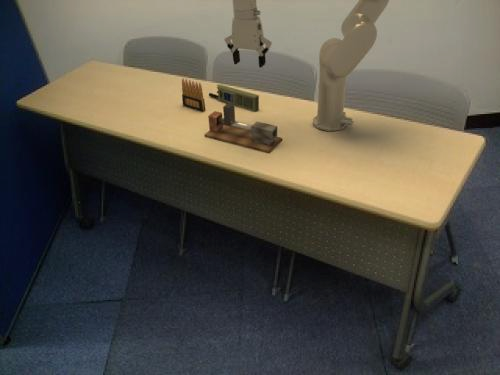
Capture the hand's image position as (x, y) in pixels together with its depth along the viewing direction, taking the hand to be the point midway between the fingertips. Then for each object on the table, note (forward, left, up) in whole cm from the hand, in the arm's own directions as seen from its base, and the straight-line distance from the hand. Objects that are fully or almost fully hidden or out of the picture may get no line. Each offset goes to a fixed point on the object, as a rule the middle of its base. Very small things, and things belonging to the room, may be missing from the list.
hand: (249, 64), depth 164 cm
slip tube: (+1, +8, -21) cm, 23 cm away
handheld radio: (+17, -16, -25) cm, 34 cm away
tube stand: (-1, +8, -25) cm, 26 cm away
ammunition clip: (+29, -5, -25) cm, 39 cm away
